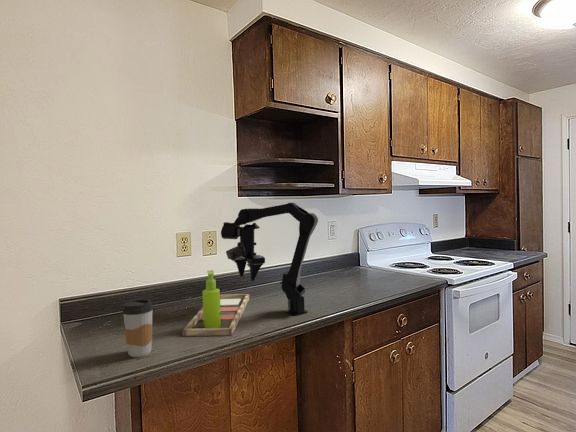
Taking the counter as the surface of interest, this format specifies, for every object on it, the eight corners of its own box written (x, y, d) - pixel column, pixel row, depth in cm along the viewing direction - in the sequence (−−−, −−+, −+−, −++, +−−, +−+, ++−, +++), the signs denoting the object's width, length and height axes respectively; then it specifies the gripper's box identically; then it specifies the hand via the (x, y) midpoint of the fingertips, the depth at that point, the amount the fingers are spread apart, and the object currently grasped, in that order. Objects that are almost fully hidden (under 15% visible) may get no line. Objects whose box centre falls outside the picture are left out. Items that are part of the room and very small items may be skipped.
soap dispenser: (204, 332, 121) (202, 273, 120) (203, 325, 128) (201, 269, 127) (221, 330, 123) (219, 272, 122) (220, 323, 129) (218, 268, 128)
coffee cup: (145, 344, 111) (143, 297, 111) (160, 351, 106) (158, 301, 105) (119, 354, 105) (116, 303, 104) (133, 361, 100) (130, 308, 99)
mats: (234, 319, 133) (234, 319, 133) (200, 320, 133) (200, 319, 133) (240, 307, 148) (240, 307, 148) (210, 308, 148) (210, 307, 148)
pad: (237, 305, 151) (237, 304, 151) (216, 305, 151) (216, 304, 151) (241, 299, 160) (241, 298, 160) (220, 299, 160) (220, 299, 160)
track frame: (231, 335, 118) (231, 329, 118) (182, 335, 118) (182, 330, 118) (249, 298, 162) (249, 293, 161) (213, 299, 162) (213, 294, 162)
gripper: (218, 238, 147) (218, 276, 147) (240, 243, 131) (239, 285, 132) (242, 237, 153) (242, 273, 154) (266, 241, 138) (265, 282, 138)
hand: (246, 278), depth 144 cm, fingers open, 9 cm apart
